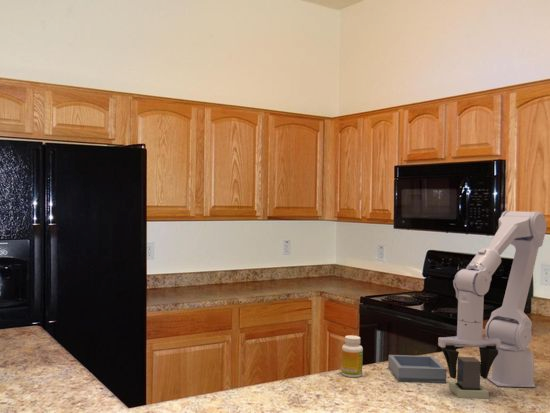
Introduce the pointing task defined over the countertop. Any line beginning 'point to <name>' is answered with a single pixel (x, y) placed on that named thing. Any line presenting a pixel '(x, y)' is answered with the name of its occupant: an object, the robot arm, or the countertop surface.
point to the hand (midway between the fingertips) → (468, 377)
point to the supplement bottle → (352, 357)
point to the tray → (417, 369)
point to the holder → (468, 392)
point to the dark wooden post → (468, 373)
